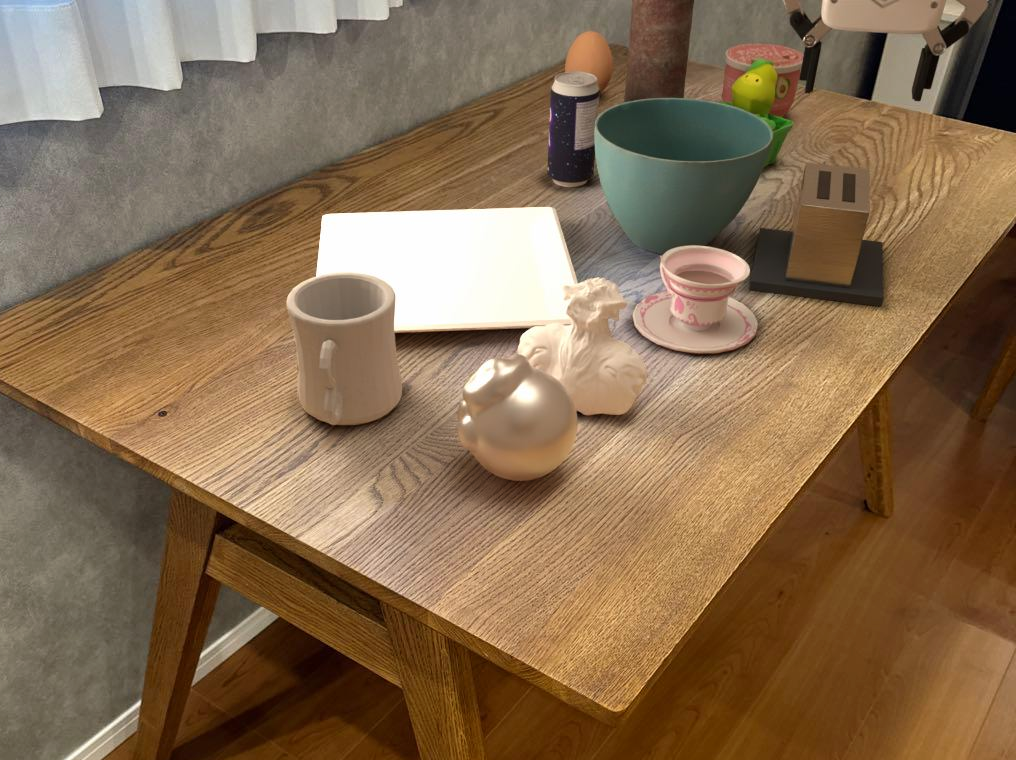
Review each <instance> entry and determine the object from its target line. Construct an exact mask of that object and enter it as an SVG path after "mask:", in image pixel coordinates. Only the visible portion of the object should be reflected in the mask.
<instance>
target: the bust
mask: <svg viewBox="0 0 1016 760" xmlns="http://www.w3.org/2000/svg"><path fill="white" fill-rule="evenodd" d="M562 289H563V291H564V293H565V294H564V297H563V300H564V301H567V300H569V299H571V300H570V302H569V304H568V305H567V309H566V314H567V315H568V316H569V318H570V319H571V320H572V325H569V326H565V325H564V324H561V323H552V324H549V325H546V326H535V327H532V328H528V330H526V331H525V332H524V333H522V335H520V338H519V344H518V346H517V354H521V355H523V356H525V357H526V358H527V359H528V361H529V363H530V365H531V366H533V367H534V368H536V369H539V370H542V371H544V372H546V373H548V374H550V375H552V376H553V377H554V378H556V379H557V380H558V381H559V382H560V383H561V384H562V385H563V386H564V387H565V388H566V390H567V391H568V392H569V394H570V396H571V398H572V400H573V402H574V405H575V408H576V412H579V413H581V414H582V415H584V416H594V415H600V414H603V415H604V414H605V415H613V416H614V415H615V416H620V415H624V414H625V413H627V412H629V410H630V409H631V407H632V406H633V404H634V403H635V401H636V400H637V398H638V396H639V394H640V393H641V391H642V389H643V386H644V384H646V381H647V378H648V376H649V372H648V370H647V367H646V364H645V362H644V360H643V358H642V357H641V355H640V354H639V353H637V351H636V350H635V349H634V348H633V347H632V346H631V345H630V344H628V343H627V342H626V341H623V340H621V339H615V338H614V337H613V336H612V330H611V328H610V325H609V323H610V322H609V318H610V319H613V320H615V321H619V320H620V313H621V310H624V309H625V308H626V307H627V306H628V302H627V300H626V299H625V298H624V297H623V295H622V294H621V293H620V289H619V286H618V285H617V284H616V283H614V282H613V281H611V280H609V279H606V278H605V277H604V276H602V278H601V277H595V278H594V277H593V278H588V279H585V280H584V281H581V282H578V283H575V284H573V285H571V286H567V285H563V286H562Z"/></svg>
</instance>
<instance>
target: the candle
mask: <svg viewBox="0 0 1016 760" xmlns="http://www.w3.org/2000/svg"><path fill="white" fill-rule="evenodd" d="M694 5H695V0H632V1H631V13H630V26H629V36H628V38H629V39H628V42H629V43H628V53H627V61H626V62H627V63H626V73H625V74H626V75H625V77H626V78H625V84H624V85H625V86H624V97H623V98H624V99H623V103H625V102H630V101H635V100H641V99H652V98H685V88H686V77H687V71H688V70H687V69H688V61H689V53H690V41H691V39H690V38H691V32H692V26H693V15H694Z"/></svg>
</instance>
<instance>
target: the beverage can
mask: <svg viewBox="0 0 1016 760" xmlns="http://www.w3.org/2000/svg"><path fill="white" fill-rule="evenodd" d="M600 95H601V94H600V89H599V87H598V84H597V77H596V76H595V75H593V74H590V73H586V72H577V71H575V72H565V71H564V72H560V73H558V74H556V75H555V76H554V82H553V84H552V85H551V87H550V96H549V97H550V99H549V121H548V122H549V123H548V124H549V125H548V145H547V147H548V149H547V170H546V173H547V176H548V177H549V178H551V180H552V181H553V183H554V184H556V185H558V186H559V187H560V186H561V187H565V188H578V187H582V186H584V185H586V184H587V183H588V181H589V180H590V179H592V178H593V177H594V174H595V164H596V163H595V161H596V154H595V141H594V130H595V121H596V119H597V117H598V116H599V108H600Z"/></svg>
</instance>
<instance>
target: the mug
mask: <svg viewBox="0 0 1016 760" xmlns="http://www.w3.org/2000/svg"><path fill="white" fill-rule="evenodd" d="M395 300H396V295H395V292H394V290H393V288H392V287H391V286H390V285H389V284H388V283H387V282H385V281H384V280H382V279H380V278H378V277H375V276H372V275H368V274H364V273H355V272H337V273H329V274H323V275H320V276H313V277H310V278H307V279H305V280H303V281H301V282H300V283H298V284H297V285H296V286H294V287H293V288H292V289H291V290H290V292H289V293H288V295H287V297H286V302H285V305H286V310H287V313H288V317H289V320H290V323H291V328H292V332H293V336H294V344H295V352H296V353H295V354H296V361H297V363H296V364H297V381H296V382H297V383H296V384H297V397H298V400H299V403H300V406H301V408H302V409H303V410H304V411H305V412H306V414H309V415H310V416H311V417H314V418H315V419H316V420H318V421H320V422H324V423H327V424H330V425H332V426H337V425H338V426H356V425H364V424H367V423H370V422H374V421H376V420H379V419H381V418H383V417H384V416H386V415H388V414H389V413H390V412H391V411H393V409H395V408H396V407H397V405H398V404H399V402H400V401H401V399H402V396H403V381H402V375H401V370H400V366H399V365H400V364H399V361H398V355H397V345H396V333H394V317H395Z"/></svg>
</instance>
